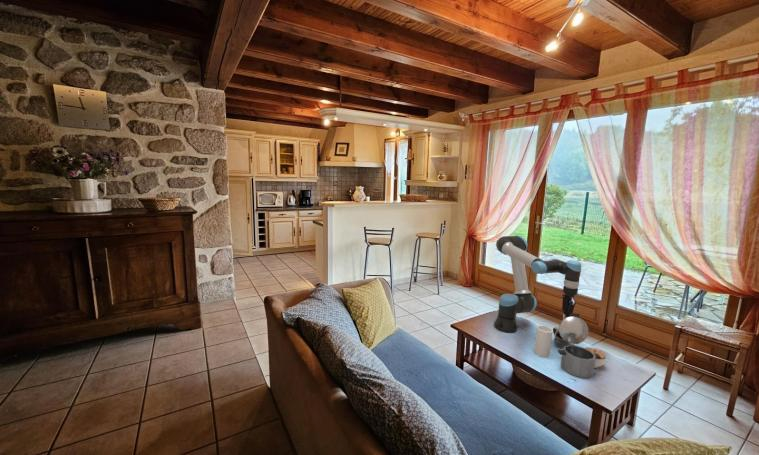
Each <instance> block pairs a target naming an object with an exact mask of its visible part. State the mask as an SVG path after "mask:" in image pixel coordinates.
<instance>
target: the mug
mask: <svg viewBox="0 0 759 455" xmlns="http://www.w3.org/2000/svg"><path fill="white" fill-rule="evenodd" d="M552 330H553V333H552V334H553V335H554V340H553V341H554V344H555V345H556V346H557V347H559V348H562V349H563V348H564V346H566V345H569V344H571V343H568V342H566V341H565V340H564V339H563V338H562V337H561V336H560V333H559V327H557V326H556V327H553V328H552Z"/></svg>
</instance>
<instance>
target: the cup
mask: <svg viewBox="0 0 759 455" xmlns="http://www.w3.org/2000/svg"><path fill="white" fill-rule="evenodd" d="M553 334H554V333H553V328H551V327H550V326H547V325H543V324H542V325H541V324H540V325H538V326H537V327H536V334H535V341H534V346H533V347H534V350H533V353H534V354H535V355H536V356H539V357H540V358H541V357H542V358H549V357H550V353H551V352H550V351H551V346H552V345H551V344H552V340H553Z"/></svg>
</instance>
